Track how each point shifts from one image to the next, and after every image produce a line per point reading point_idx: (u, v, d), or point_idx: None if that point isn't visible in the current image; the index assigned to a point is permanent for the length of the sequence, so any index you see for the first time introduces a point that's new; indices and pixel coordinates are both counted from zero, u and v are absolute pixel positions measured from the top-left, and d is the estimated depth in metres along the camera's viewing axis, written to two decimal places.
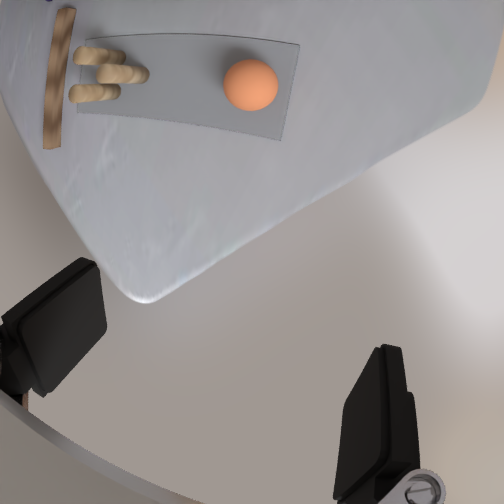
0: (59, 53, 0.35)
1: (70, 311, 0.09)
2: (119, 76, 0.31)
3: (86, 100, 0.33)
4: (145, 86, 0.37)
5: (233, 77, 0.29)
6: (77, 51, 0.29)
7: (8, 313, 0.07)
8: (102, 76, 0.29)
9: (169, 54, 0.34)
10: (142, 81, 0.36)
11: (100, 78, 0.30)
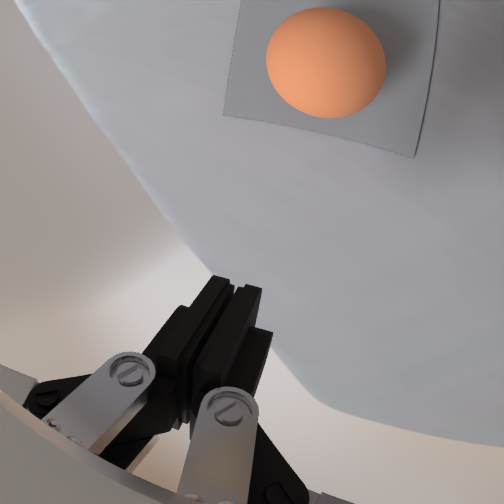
0: None
1: None
2: None
3: None
4: None
5: (336, 29, 0.11)
6: None
7: (164, 347, 0.07)
8: None
9: None
10: None
11: None
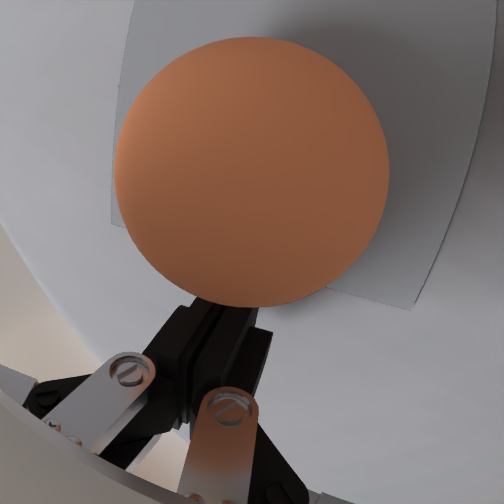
0: None
1: None
2: None
3: None
4: None
5: (246, 127, 0.04)
6: None
7: (164, 347, 0.07)
8: None
9: None
10: None
11: None
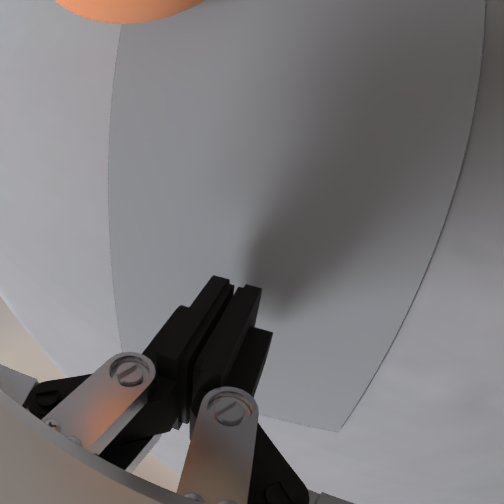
0: None
1: None
2: None
3: None
4: None
5: None
6: None
7: (164, 347, 0.07)
8: None
9: (392, 51, 0.07)
10: None
11: None
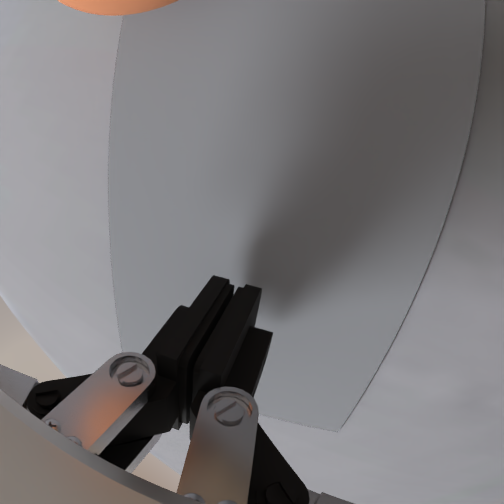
0: None
1: None
2: None
3: None
4: None
5: None
6: None
7: (164, 347, 0.07)
8: None
9: (392, 51, 0.07)
10: None
11: None
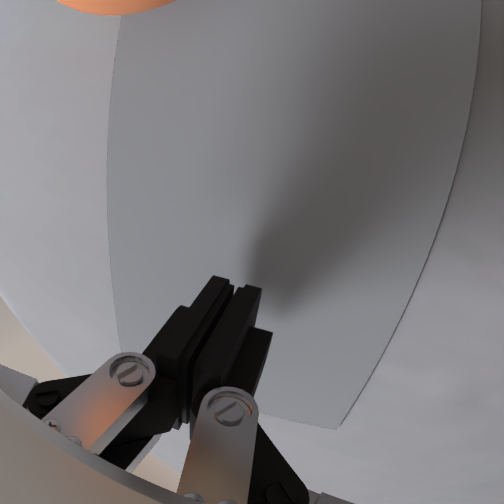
0: None
1: None
2: None
3: None
4: None
5: None
6: None
7: (164, 347, 0.07)
8: None
9: (388, 50, 0.07)
10: None
11: None
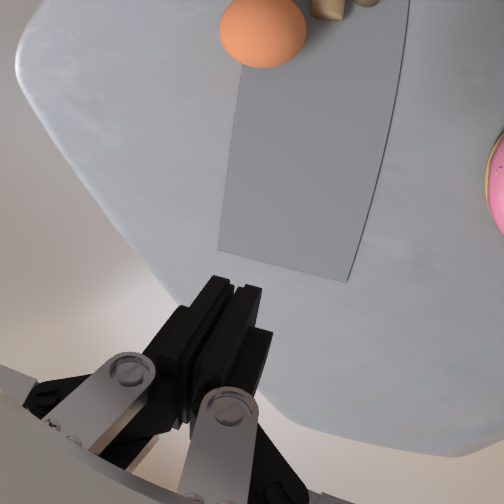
0: None
1: None
2: None
3: None
4: None
5: (255, 53, 0.17)
6: None
7: (164, 347, 0.07)
8: None
9: (358, 88, 0.21)
10: None
11: None
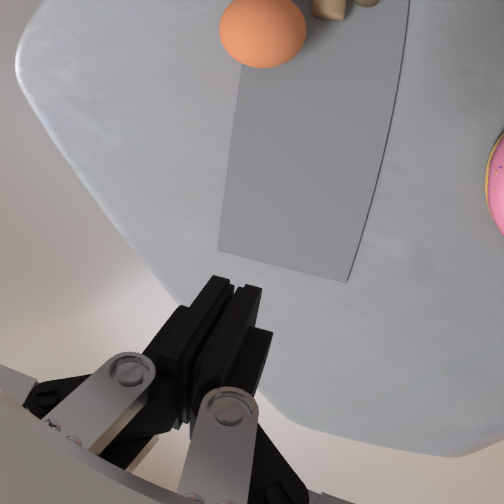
0: None
1: None
2: None
3: None
4: (304, 41, 0.20)
5: (255, 53, 0.17)
6: None
7: (164, 347, 0.07)
8: None
9: (358, 88, 0.21)
10: None
11: None
